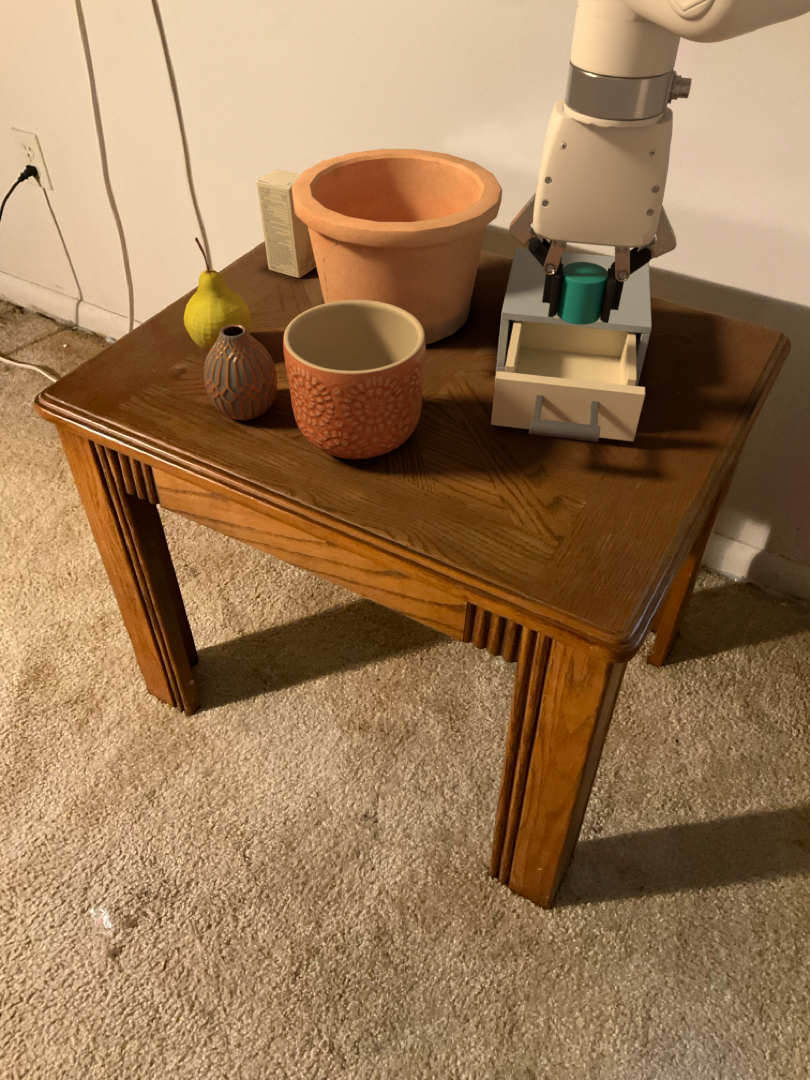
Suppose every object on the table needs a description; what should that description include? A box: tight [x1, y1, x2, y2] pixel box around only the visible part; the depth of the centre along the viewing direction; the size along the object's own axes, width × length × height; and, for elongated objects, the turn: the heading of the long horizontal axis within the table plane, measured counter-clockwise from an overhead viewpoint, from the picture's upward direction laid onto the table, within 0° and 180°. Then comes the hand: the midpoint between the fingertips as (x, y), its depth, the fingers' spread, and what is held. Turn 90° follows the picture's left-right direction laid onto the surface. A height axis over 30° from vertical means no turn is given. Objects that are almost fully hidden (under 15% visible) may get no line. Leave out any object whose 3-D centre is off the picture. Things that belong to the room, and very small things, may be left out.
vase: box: [203, 324, 278, 421], centre depth 78 cm, size 7×7×9 cm
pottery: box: [292, 148, 503, 345], centre depth 90 cm, size 22×22×14 cm
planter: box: [282, 300, 427, 460], centre depth 75 cm, size 12×12×11 cm
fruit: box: [183, 237, 252, 353], centre depth 85 cm, size 7×7×12 cm
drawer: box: [490, 320, 646, 443], centre depth 78 cm, size 19×13×5 cm
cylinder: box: [557, 262, 608, 325], centre depth 73 cm, size 4×4×4 cm
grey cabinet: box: [495, 247, 653, 386], centre depth 88 cm, size 15×15×7 cm
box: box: [255, 168, 317, 279], centre depth 99 cm, size 5×4×11 cm
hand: (578, 310), depth 74 cm, fingers closed on cylinder, 4 cm apart
